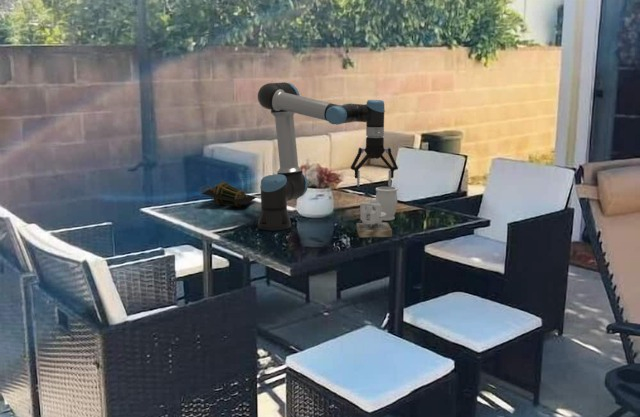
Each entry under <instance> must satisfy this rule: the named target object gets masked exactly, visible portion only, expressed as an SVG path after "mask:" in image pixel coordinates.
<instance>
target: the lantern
mask: <svg viewBox="0 0 640 417" xmlns="http://www.w3.org/2000/svg"><path fill="white" fill-rule="evenodd" d="M203 188H207V189H204V190H202V189H203ZM199 191H200V192H201V195H204V196H208V197H210V198H213V200H214V202H215V203H214V204H215V205H219V206H223V205H225V206H233V207H234V206H235V207H239V208H242V205H247V204H249V203H250V202H252V201H253V200H256V198H258V196H255V195H250V194H246V191H243V190H241V189H238V188H236V187H234V186H233V185H230V184H229V183H228V182H225V181H224V180H221V182H220V183H218V184H216V183H214V185H213V187H212V185H203V186H201V187H200V188H199ZM221 204H222V205H221Z"/></svg>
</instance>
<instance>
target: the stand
mask: <svg viewBox="0 0 640 417" xmlns="http://www.w3.org/2000/svg"><path fill="white" fill-rule="evenodd" d="M356 232H357V235H358V238H392V237H393V229H392V228H391V226H390V223H389V222H387V221H384V222H381V223H380V225H379V227H378V223H375V224H372V227H371V224H368V226H367V224H365V223H363V222H356Z"/></svg>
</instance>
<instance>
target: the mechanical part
mask: <svg viewBox="0 0 640 417" xmlns="http://www.w3.org/2000/svg"><path fill="white" fill-rule="evenodd" d="M375 200H376V199H375ZM375 200H373V199H369V201H360V203H359V204H360V206H359V209H360V210H359V212H360V221H362V222H361V223H365V224H367V226H368V224H371V227H372V224H375V223H378V227H379V225H380V223H383V220H382V219H383V218H386V213H384V212H381V210H382V208H381V204H379V203H378V200H376V201H375Z"/></svg>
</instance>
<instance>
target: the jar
mask: <svg viewBox="0 0 640 417" xmlns="http://www.w3.org/2000/svg"><path fill="white" fill-rule="evenodd" d="M397 191H398V188H397V187H395V186H378V187H376V188H375V192H376V193H375V199H374V201H376V200H378V203H379V204H381V208H382V210H381V212H384V213H386V218H383V219H382V222H387V221H388V222H389V221H394V220H395V215H396V212H397V207H398V206H397V205H398V194H397Z"/></svg>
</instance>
